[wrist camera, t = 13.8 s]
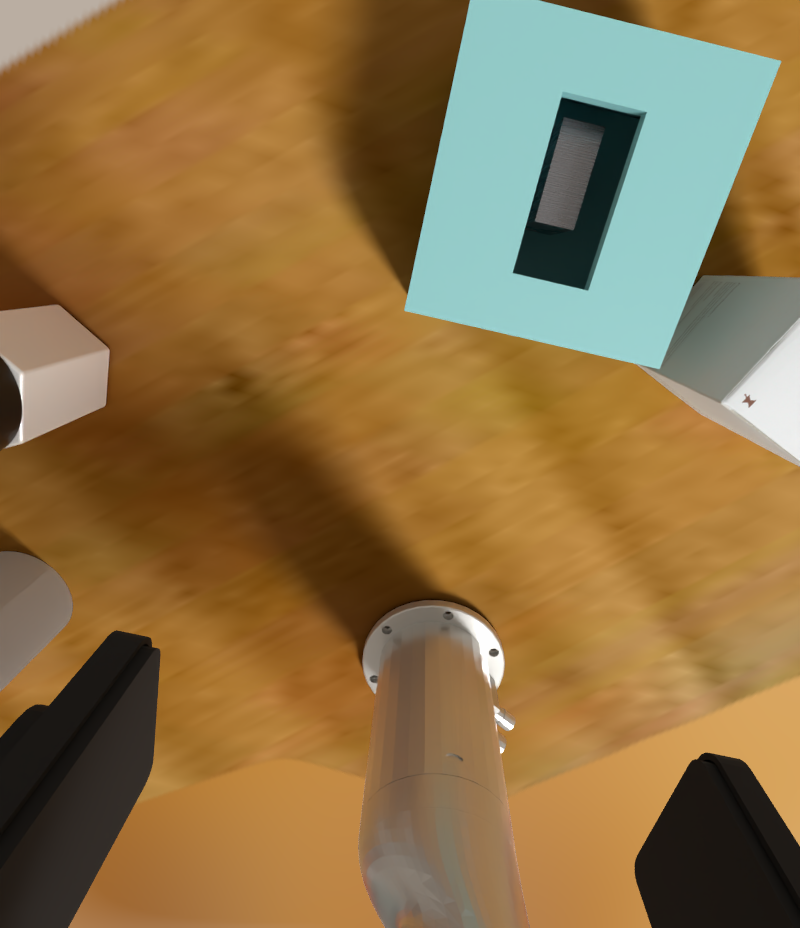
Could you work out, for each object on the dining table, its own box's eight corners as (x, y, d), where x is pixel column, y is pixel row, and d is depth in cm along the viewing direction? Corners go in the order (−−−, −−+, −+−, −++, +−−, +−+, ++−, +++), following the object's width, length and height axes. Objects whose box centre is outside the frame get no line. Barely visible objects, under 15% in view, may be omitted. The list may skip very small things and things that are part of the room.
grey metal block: (605, 126, 28) (573, 230, 29) (575, 149, 33) (550, 235, 35) (564, 117, 27) (534, 221, 29) (541, 141, 33) (517, 227, 35)
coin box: (680, 117, 33) (781, 61, 24) (602, 342, 38) (659, 369, 29) (460, 63, 33) (473, -17, 23) (409, 298, 38) (404, 310, 28)
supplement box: (701, 417, 40) (818, 484, 28) (627, 359, 38) (716, 402, 27) (781, 335, 37) (946, 369, 25) (705, 269, 36) (841, 273, 24)
